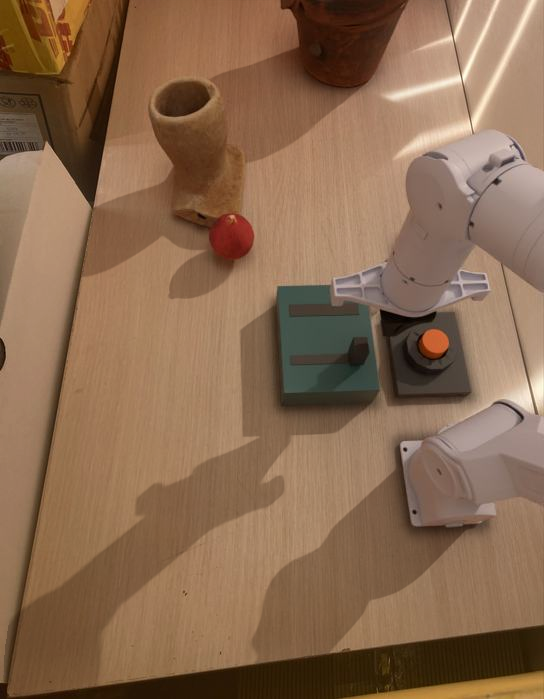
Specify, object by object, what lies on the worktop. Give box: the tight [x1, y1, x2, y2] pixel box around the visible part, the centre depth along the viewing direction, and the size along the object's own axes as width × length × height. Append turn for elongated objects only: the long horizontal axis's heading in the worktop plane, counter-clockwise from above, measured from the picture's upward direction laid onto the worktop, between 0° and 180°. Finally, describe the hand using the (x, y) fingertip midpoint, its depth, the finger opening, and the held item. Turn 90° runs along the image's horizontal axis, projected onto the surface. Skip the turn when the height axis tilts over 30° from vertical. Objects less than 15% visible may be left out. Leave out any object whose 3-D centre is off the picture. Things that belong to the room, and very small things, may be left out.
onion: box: [208, 213, 255, 261], centre depth 70 cm, size 6×6×8 cm
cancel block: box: [386, 311, 472, 399], centre depth 67 cm, size 11×9×3 cm
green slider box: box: [275, 284, 381, 407], centre depth 66 cm, size 14×11×5 cm
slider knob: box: [348, 337, 370, 365], centre depth 61 cm, size 2×2×4 cm
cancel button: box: [418, 329, 449, 359], centre depth 65 cm, size 3×3×2 cm
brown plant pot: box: [279, 0, 409, 88], centre depth 81 cm, size 18×20×18 cm
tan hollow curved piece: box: [147, 75, 246, 228], centre depth 71 cm, size 15×12×15 cm
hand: (388, 328), depth 58 cm, fingers closed
